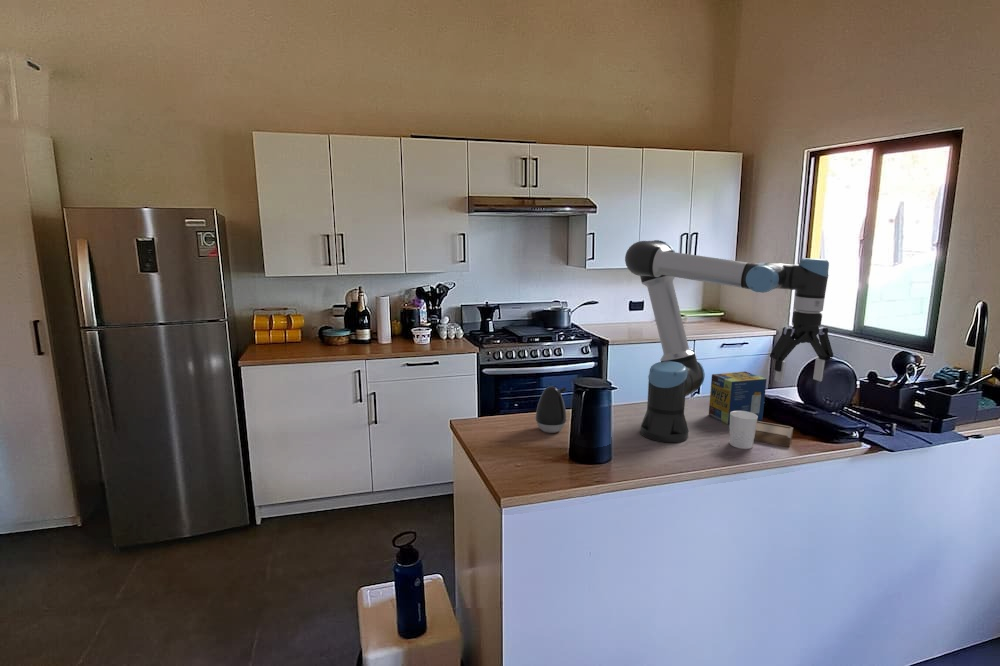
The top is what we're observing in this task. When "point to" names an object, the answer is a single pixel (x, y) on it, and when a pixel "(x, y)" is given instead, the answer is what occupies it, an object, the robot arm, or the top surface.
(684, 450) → the top surface
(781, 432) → the tan flat block
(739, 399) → the protein box
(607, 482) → the top surface
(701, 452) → the top surface
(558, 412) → the dark grey egg
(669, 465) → the top surface
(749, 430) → the white cup
